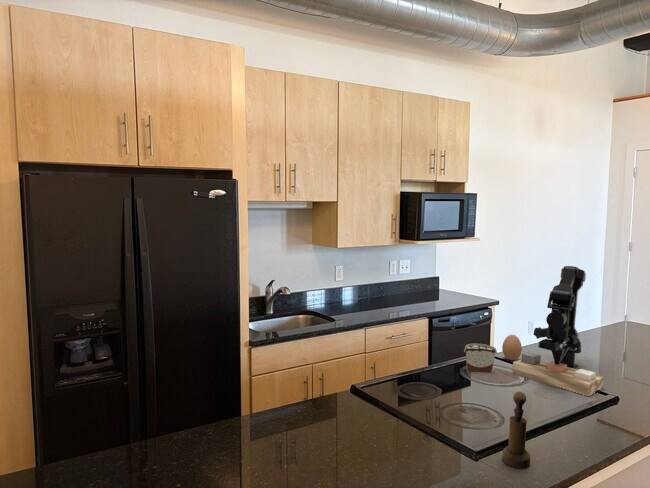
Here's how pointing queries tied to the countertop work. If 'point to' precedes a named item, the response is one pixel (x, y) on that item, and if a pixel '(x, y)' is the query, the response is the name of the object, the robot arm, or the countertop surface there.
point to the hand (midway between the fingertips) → (557, 364)
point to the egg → (512, 347)
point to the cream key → (585, 374)
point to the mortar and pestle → (517, 436)
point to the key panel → (557, 377)
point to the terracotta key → (557, 367)
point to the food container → (480, 358)
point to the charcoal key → (531, 358)
